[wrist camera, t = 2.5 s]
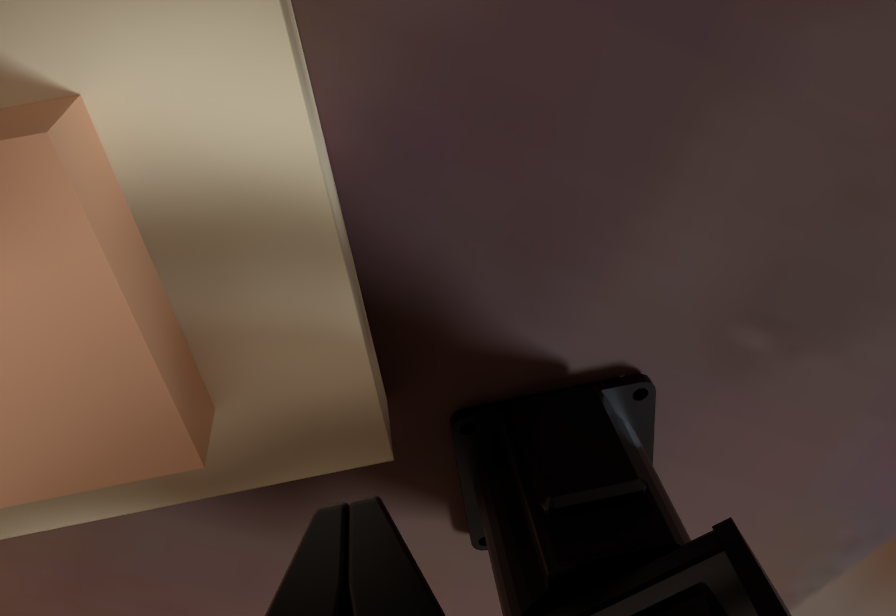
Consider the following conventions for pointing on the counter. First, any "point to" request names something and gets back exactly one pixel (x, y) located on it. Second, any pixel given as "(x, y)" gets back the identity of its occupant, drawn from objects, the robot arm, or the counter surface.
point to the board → (218, 231)
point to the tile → (83, 322)
